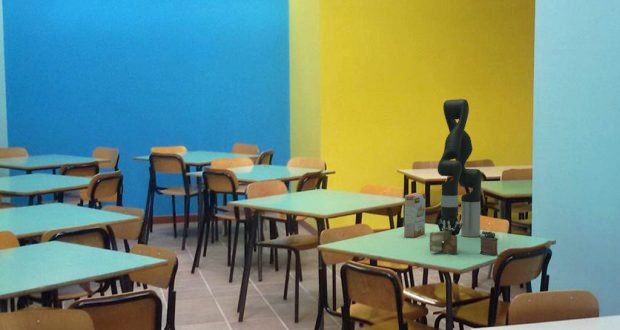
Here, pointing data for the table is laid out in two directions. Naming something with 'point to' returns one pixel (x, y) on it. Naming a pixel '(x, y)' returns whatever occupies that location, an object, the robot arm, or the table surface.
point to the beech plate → (438, 240)
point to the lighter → (488, 244)
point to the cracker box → (414, 215)
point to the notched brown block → (449, 245)
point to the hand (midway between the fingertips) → (449, 243)
